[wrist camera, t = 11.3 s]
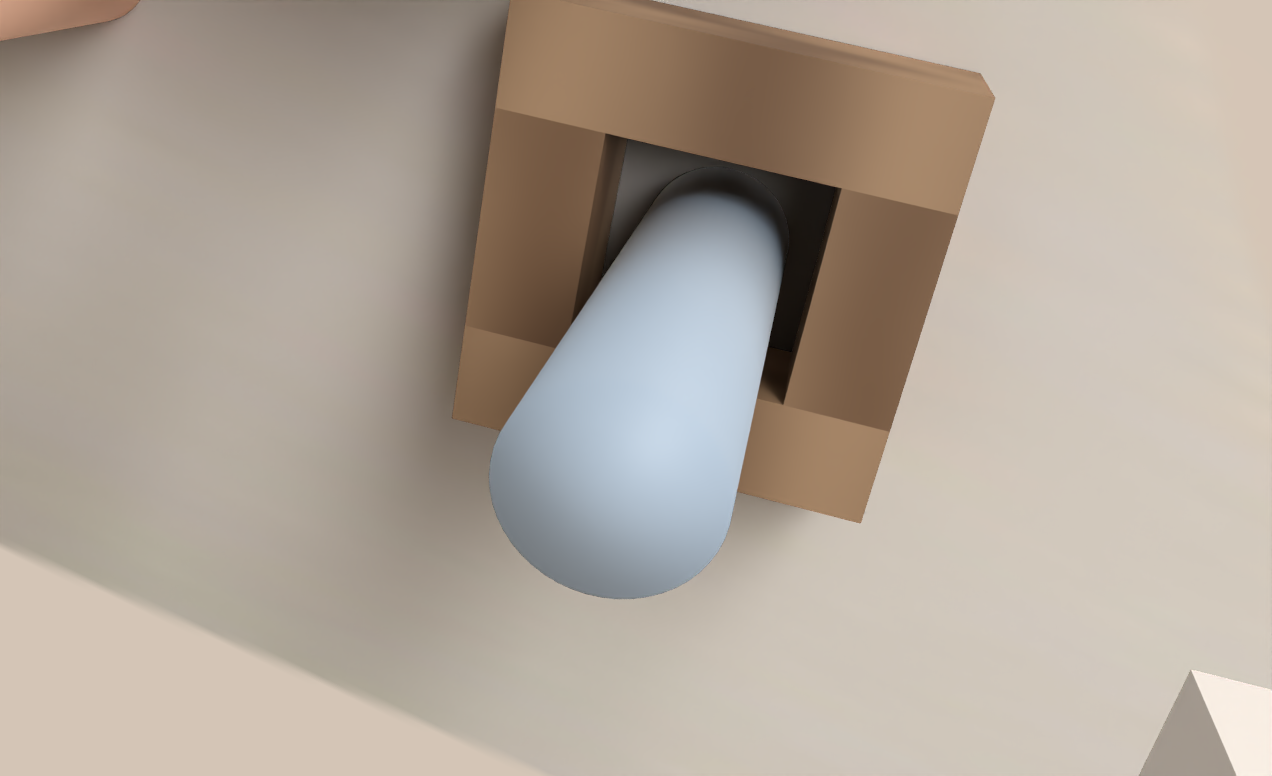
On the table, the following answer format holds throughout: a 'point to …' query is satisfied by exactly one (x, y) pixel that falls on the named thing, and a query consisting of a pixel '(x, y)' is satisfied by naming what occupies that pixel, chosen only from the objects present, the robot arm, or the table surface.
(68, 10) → the short peg
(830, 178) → the socket block
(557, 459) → the long peg
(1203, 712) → the robot arm
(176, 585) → the table surface
